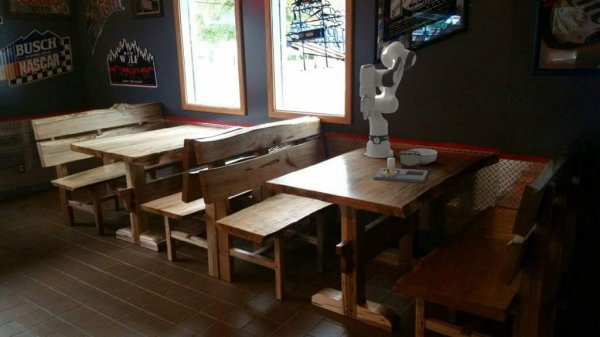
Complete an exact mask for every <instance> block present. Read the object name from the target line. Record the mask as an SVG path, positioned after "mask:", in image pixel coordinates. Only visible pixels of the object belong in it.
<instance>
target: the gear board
mask: <svg viewBox="0 0 600 337" xmlns="http://www.w3.org/2000/svg"><path fill="white" fill-rule="evenodd" d="M386 170H387V171H386ZM395 171H397V172H398V174H395V173H394V172H391V171H389V169H387V167H380V168H379V169H378V170H377V172H376V173H375V174H374V176H373V178H372V179H373V180H376V181H377V180H379V181H394V182H407V183H421V184H423V183H424V182H425V180H426V177H427V176H428V173H429V170H426V169H425V170H423V169H418V170H410V169H401V168H395ZM411 174H413V175H411Z"/></svg>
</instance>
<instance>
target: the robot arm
mask: <svg viewBox="0 0 600 337" xmlns="http://www.w3.org/2000/svg"><path fill="white" fill-rule="evenodd" d="M380 60H381V63H382V65H384V67H386V68H387V69H377V68H376V67H375V66H376V65H375V64H372V63H366V64H363V65H361V66H360V69H359V70H360V71H359V84H360V86H359V97H360V98H361V99H360V113H362V116H363V120H364V121H365V120H369V133H368V134H369V135H368V138H369V141H368V142H367V143H366V152H365V153H363V155H364V156H366V157H369V158H373V159H374V158H376V159H382V158H383V159H386V158H394V150H392V149H391V143H390V141H389V132H388V131H389V130H388V129H389V128H388V126H389V124H388V120H386V119H385V118H384V116H383V115H382V113H383V114H392V113H395V112H396V111H397V110H398V108H399V100H398V98H397V97H396V91H397V89H398V87H399V84H400V82H401V80H402V77H403V74H404V71H408V69H411V68H413V66H414V64H416V60H417V54H416V52H414V51H412V50H409V49H406V48H405V45H404V44H403V43H402V42H401V41H393V42H392V43H390V44H389V45H385V46H383V49H382V50H381V54H380ZM376 87H378V88H379V91H380V92H381V93H380V94H377V91H376Z"/></svg>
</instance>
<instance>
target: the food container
mask: <svg viewBox="0 0 600 337" xmlns="http://www.w3.org/2000/svg"><path fill="white" fill-rule="evenodd" d="M420 156H421V153H420V152H419V151H413V150H411V149H408V150H401V151H399V157H400V169H410V170H419V165H420V164H419V160H420Z"/></svg>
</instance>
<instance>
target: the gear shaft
mask: <svg viewBox="0 0 600 337" xmlns="http://www.w3.org/2000/svg"><path fill="white" fill-rule="evenodd" d="M386 158H387V161H386V162H387V163H386V165H387V166H386V168H387V169H389V171H391V172H394V173H395V174H398V172H397V171H395V169H396V167H395V166H396V164H395V163H396V158H395V157H386ZM386 171H387V170H386Z"/></svg>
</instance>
